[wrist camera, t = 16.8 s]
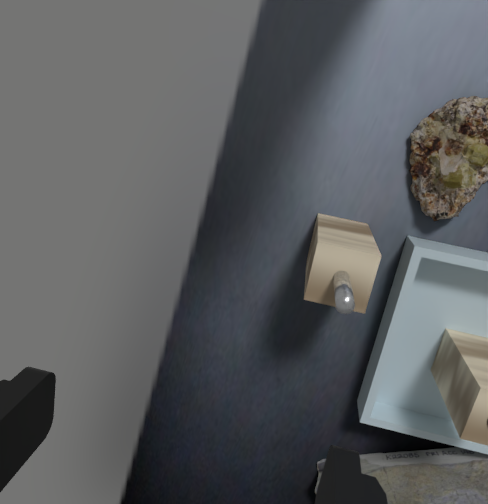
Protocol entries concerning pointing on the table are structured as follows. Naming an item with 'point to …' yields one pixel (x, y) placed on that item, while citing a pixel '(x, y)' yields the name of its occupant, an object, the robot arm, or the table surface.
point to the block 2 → (464, 382)
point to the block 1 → (341, 264)
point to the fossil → (428, 475)
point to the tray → (423, 338)
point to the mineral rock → (450, 156)
